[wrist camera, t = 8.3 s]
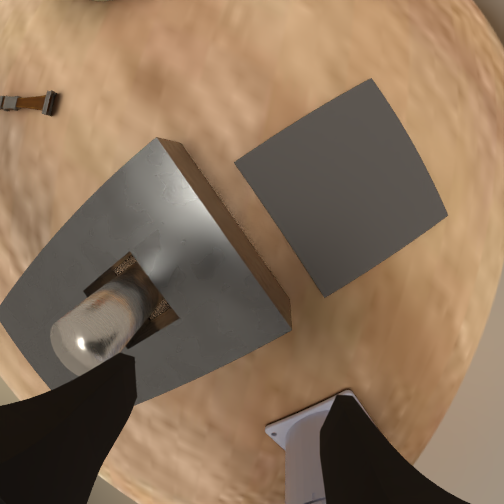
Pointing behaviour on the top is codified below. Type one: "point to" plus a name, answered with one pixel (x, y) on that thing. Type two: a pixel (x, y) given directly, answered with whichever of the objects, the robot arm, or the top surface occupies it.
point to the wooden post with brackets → (29, 102)
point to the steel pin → (105, 320)
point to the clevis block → (153, 275)
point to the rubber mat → (344, 186)
